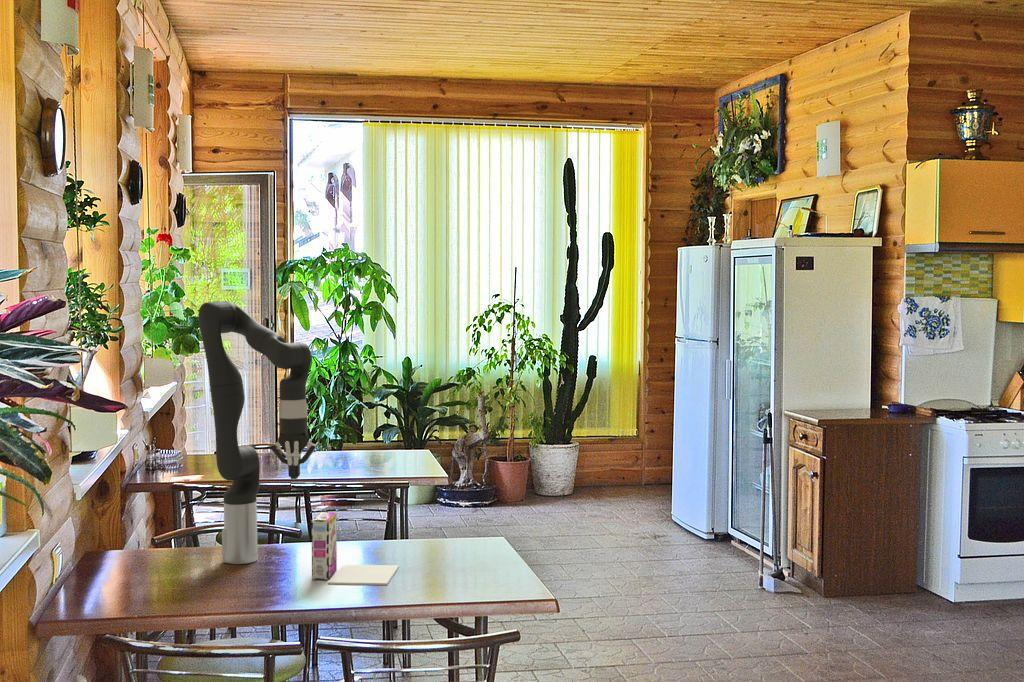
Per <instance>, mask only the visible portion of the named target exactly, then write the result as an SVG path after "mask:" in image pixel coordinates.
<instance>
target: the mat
mask: <svg viewBox="0 0 1024 682" xmlns="http://www.w3.org/2000/svg"><path fill="white" fill-rule="evenodd" d="M399 568H400V565H398V564H397V565H396V564H395V565H394V564H393V565H392V564H342V565H341V566H340V568H339V569H338V570H336V571H335V573H334V574H333V576H331V577H330V579H329V580H328V581H327V584H328V585H347V586H348V585H356V586H357V585H359V586H360V585H362V586H388V585H389V584H390V582H391V580H392V578H393V577H394V576H395V575H396V573H397V571H398V570H399Z"/></svg>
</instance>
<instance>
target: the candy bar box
mask: <svg viewBox="0 0 1024 682" xmlns="http://www.w3.org/2000/svg"><path fill="white" fill-rule="evenodd" d="M337 533H338V532H337V512H330V511H329V512H320V513H318V514H317V515H316V516H315V517H314V518H313V519H311V580H312V581H329V580H330V579H331V578H332V577H333V576H334V574H335V573H336V572H337V571H338V570H337V567H338V566H337V565H338V563H337V559H338V558H337V557H338V556H337V555H338V554H337V551H338V550H337V548H338V547H337V544H338V543H337ZM332 575H333V576H332Z"/></svg>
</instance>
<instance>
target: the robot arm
mask: <svg viewBox="0 0 1024 682" xmlns="http://www.w3.org/2000/svg"><path fill="white" fill-rule="evenodd" d="M197 318H198V325H199V331H200V335H201V340H202V344H203V349H204V353H205V359H206V365H207V371H208V372H207V373H208V378H209V379H208V381H209V390H210V397H211V403H212V411H213V418H214V419H213V420H214V432H215V459H216V460H215V461H216V467H217V470H218V472H219V475H220V477H221V478H223V479H224V480H226V481H229V482H230V481H232V483H231V485H230V487H228V488H227V489H226V490H225V491H224V493H223V527H224V528H222V530H221V551H222V553H221V554H222V559H221V560H222V563H225V564H230V565H244V564H251V563H255V562H256V561H258V559H259V557H258V556H259V555H258V554H259V552H258V551H259V550H258V515H257V514H258V513H257V511H258V509H257V507H258V506H257V502H258V501H257V496H258V494H259V490H260V469H261V468H260V464H261V463H260V456H259V454H258V451H257V450H256V449H255V448H254V447H253V446H251V445H249V444H243V445H239V441H238V427H239V426H238V425H239V421H240V418H241V416H242V412H243V409H244V405H245V397H246V396H245V389H244V383H243V382H244V381H243V377H242V374H241V372H240V371H239V370H238V367H237V366H236V365H235V363H234V362H233V361H232V360H231V358H230V357H229V355H228V354H227V352H226V350H225V347H224V344H223V338H222V334H228V333H235V334H239V335H241V336H243V337H244V339H245V340H246V341H245V342H246V343H247V344H248V346H249V347H250V348H252V349H253V350H254V351H257V352H258V353H260V354H262V355H264V356H265V357H266V358H267V359H268V360H269V361H270V363H272V365H273V366H275V367H276V368H279V369H283V370H290V372H289V375H287V376H286V377H284V378H282V379H280V382H279V406H278V413H279V414H278V419H279V420H278V423H279V424H278V426H279V427H278V428H279V430H278V431H279V435H278V438H277V442H275V443H274V444H272V445H270V449H271V451H272V452H273V453H274V454H275V456H276V457H277V458H278V460H279V461H280V462H281V463H282V464H285V465H287V467H288V478H290V480H297V479H298V477H300V475H301V464H305V463H306V462H307V461H308V459H309V458H311V456H312V454H313V453H314V452H315V451H316V449H317V448H318V445H317V444H316V443H313V442H312V441H311V440H310V437H309V435H308V413H309V412H308V405H307V387H306V386H307V385H306V384H307V381H308V376H309V372H310V367H311V364H312V352H311V350H310V348H309V346H308V345H307V344H306V343H304V342H301V341H298V342H297V341H296V342H286V340H285V338H284V336H282V335H281V334H279V333H278V332H275V331H274V330H272V329H270V328H268V327H266V326H264V325H263V324H261V323H259V322H258V321H257V320H256V319H255V318H253V317H251V315H249V314H248V313H247V312H246V311H245V310H244V309H242V307H240V306H239V305H237V304H236V303H235V302H232V301H227V300H224V301H223V300H222V301H206V302H204V303H202V304H201V305H200V307H199V310H198V316H197ZM306 446H307V447H306ZM305 448H306V450H307V451H306V452H305V454H304V455H303V456H302V453H303V451H304V450H305ZM282 449H283V450H284V451H285V453H284V452H283V451H282ZM301 457H302V458H301Z"/></svg>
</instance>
